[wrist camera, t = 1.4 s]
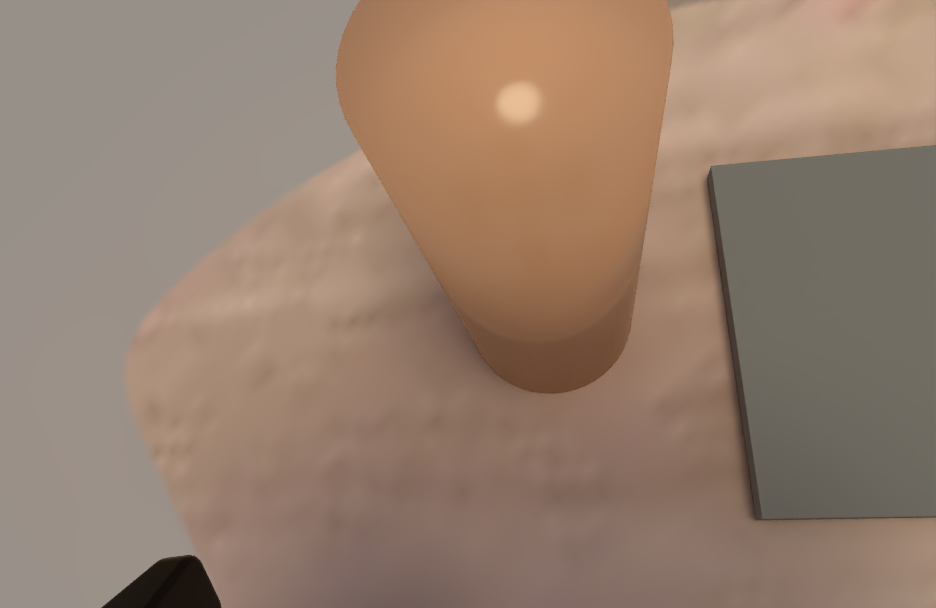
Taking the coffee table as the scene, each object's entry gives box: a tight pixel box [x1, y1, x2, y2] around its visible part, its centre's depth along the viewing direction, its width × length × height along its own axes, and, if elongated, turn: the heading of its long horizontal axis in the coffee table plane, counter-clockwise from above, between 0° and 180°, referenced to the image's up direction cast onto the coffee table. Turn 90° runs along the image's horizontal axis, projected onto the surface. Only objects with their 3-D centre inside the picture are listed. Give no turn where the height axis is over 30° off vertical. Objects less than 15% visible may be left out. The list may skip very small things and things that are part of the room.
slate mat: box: [707, 145, 936, 520], centre depth 20 cm, size 11×11×1 cm
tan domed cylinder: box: [336, 0, 674, 393], centre depth 17 cm, size 5×5×13 cm
